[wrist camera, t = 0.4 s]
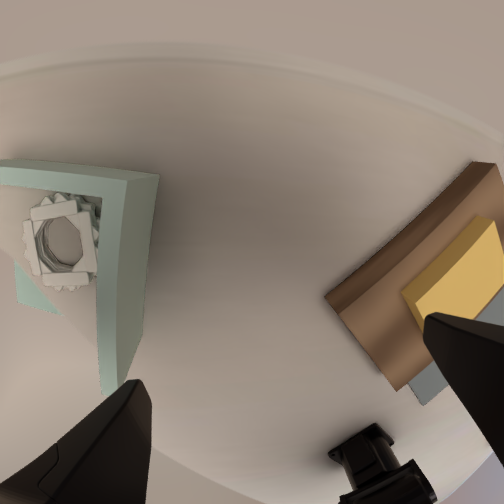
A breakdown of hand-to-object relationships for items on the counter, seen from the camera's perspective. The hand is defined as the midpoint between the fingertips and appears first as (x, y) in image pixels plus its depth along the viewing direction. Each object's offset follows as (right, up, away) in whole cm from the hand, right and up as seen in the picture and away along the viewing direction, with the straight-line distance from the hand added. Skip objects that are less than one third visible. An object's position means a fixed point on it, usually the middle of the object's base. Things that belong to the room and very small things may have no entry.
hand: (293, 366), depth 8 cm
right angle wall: (-14, +4, +12) cm, 19 cm away
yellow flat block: (+15, +1, +12) cm, 19 cm away
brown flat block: (+15, +2, +15) cm, 21 cm away
